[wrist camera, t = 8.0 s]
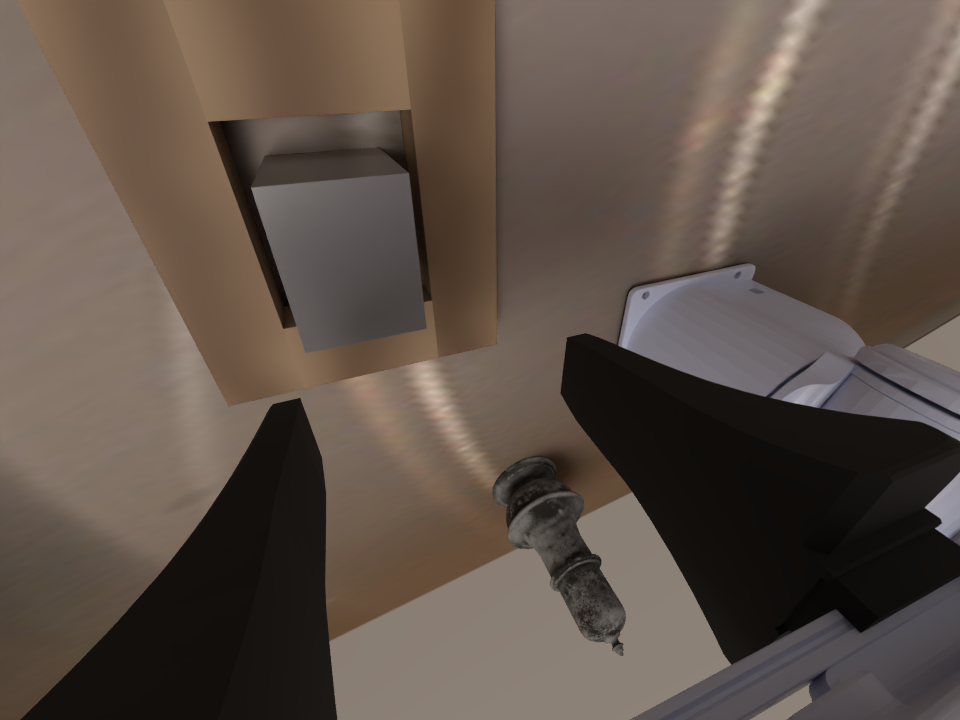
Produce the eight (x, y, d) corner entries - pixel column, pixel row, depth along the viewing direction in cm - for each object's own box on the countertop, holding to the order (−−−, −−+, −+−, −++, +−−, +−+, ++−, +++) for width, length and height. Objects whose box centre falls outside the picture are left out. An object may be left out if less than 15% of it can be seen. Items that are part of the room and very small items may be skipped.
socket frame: (472, -2, 14) (494, -12, 12) (482, 325, 21) (497, 343, 20) (46, -8, 11) (4, -23, 9) (234, 378, 18) (228, 406, 17)
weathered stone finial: (523, 514, 33) (610, 682, 24) (473, 499, 30) (552, 690, 20) (572, 465, 32) (685, 623, 22) (526, 444, 28) (637, 621, 19)
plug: (378, 147, 15) (408, 172, 11) (397, 271, 18) (426, 328, 14) (265, 155, 14) (250, 187, 10) (303, 285, 17) (305, 353, 13)
